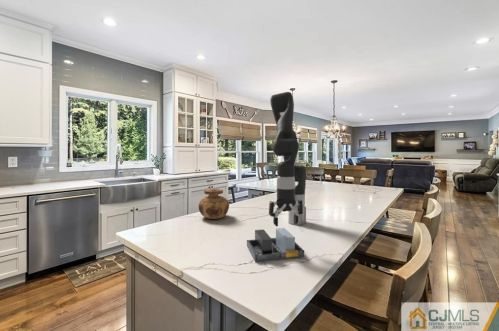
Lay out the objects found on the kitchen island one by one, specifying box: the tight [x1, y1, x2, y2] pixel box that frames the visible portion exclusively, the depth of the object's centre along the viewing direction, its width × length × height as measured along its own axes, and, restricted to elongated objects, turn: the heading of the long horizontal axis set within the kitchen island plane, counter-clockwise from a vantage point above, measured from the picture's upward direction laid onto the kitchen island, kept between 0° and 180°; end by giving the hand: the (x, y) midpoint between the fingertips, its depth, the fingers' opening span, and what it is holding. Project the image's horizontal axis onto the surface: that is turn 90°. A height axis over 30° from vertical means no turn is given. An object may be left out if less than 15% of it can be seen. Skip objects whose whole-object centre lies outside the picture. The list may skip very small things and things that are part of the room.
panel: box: [275, 227, 296, 252], centre depth 104 cm, size 4×12×7 cm, turn 12°
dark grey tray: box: [246, 228, 305, 263], centre depth 103 cm, size 20×16×8 cm
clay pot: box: [198, 187, 230, 220], centre depth 153 cm, size 19×19×20 cm
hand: (285, 224), depth 103 cm, fingers open, 8 cm apart
